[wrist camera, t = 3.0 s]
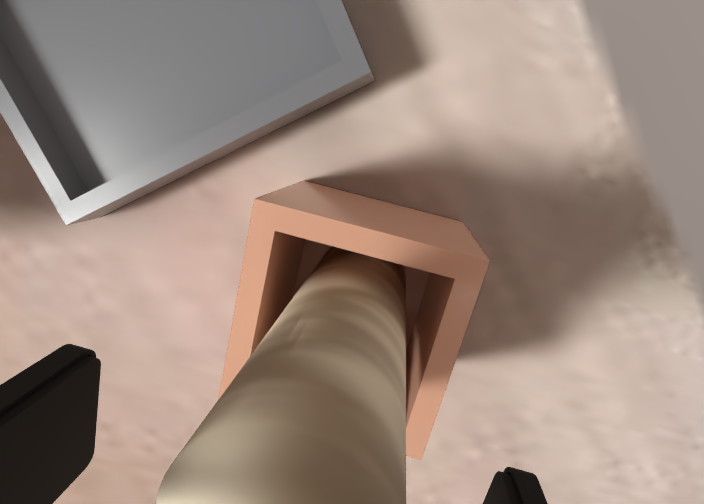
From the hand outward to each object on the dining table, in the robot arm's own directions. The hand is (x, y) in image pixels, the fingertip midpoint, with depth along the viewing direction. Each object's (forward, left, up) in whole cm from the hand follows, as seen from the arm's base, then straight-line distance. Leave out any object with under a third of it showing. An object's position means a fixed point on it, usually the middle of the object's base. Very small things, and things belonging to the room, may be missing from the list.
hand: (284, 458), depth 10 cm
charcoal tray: (+13, -10, -16) cm, 22 cm away
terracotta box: (0, 0, -16) cm, 15 cm away
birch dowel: (0, 0, -15) cm, 14 cm away
